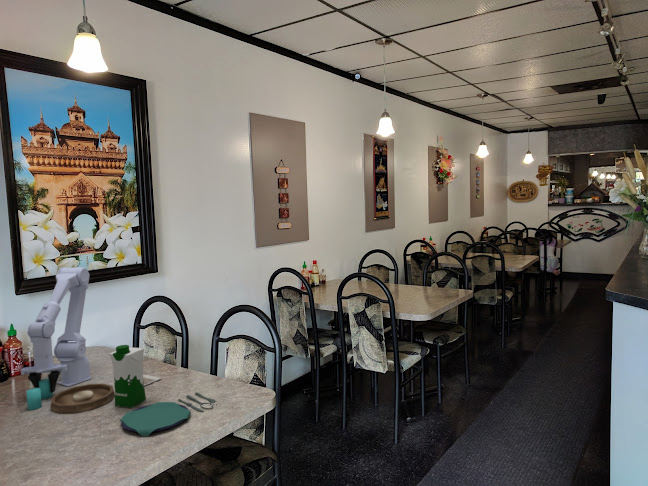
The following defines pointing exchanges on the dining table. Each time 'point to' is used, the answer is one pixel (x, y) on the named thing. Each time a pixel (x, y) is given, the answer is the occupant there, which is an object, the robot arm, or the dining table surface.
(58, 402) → the groove tray
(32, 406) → the bead
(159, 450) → the dining table surface
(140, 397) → the milk carton
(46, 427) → the dining table surface
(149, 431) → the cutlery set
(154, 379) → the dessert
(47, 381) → the teal upright block
